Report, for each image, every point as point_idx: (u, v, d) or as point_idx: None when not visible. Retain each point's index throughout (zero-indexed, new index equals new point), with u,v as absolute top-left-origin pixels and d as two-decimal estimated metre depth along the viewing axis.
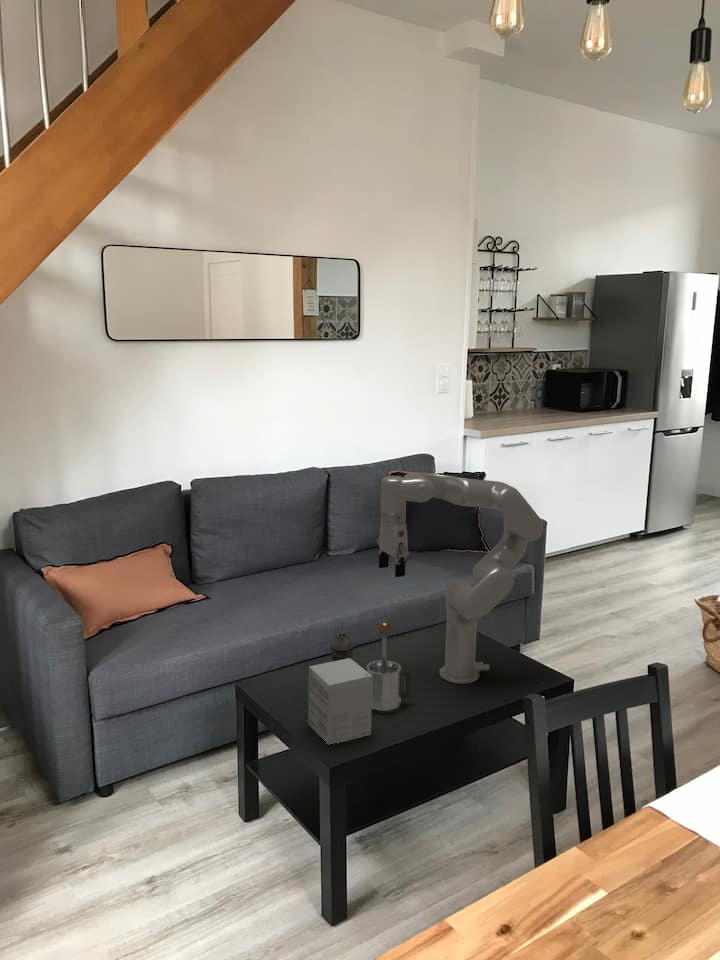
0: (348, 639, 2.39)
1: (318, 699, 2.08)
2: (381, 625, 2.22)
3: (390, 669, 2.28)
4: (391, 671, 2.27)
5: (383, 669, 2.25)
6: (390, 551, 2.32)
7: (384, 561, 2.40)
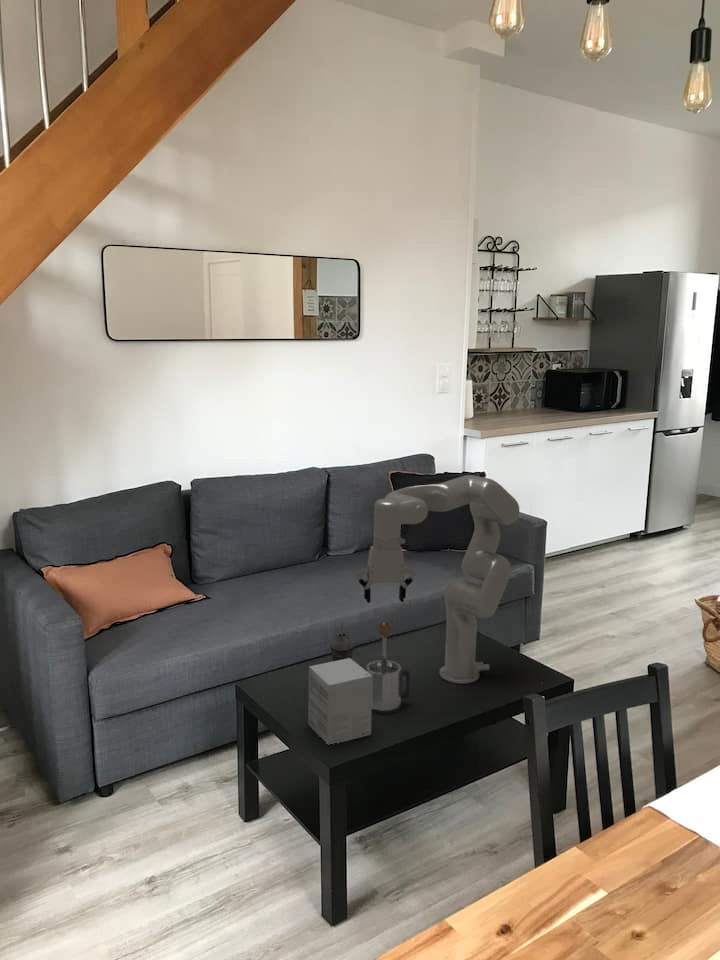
0: (348, 639, 2.39)
1: (318, 699, 2.08)
2: (381, 625, 2.22)
3: (390, 669, 2.28)
4: (391, 671, 2.27)
5: (383, 669, 2.25)
6: (395, 577, 2.18)
7: None
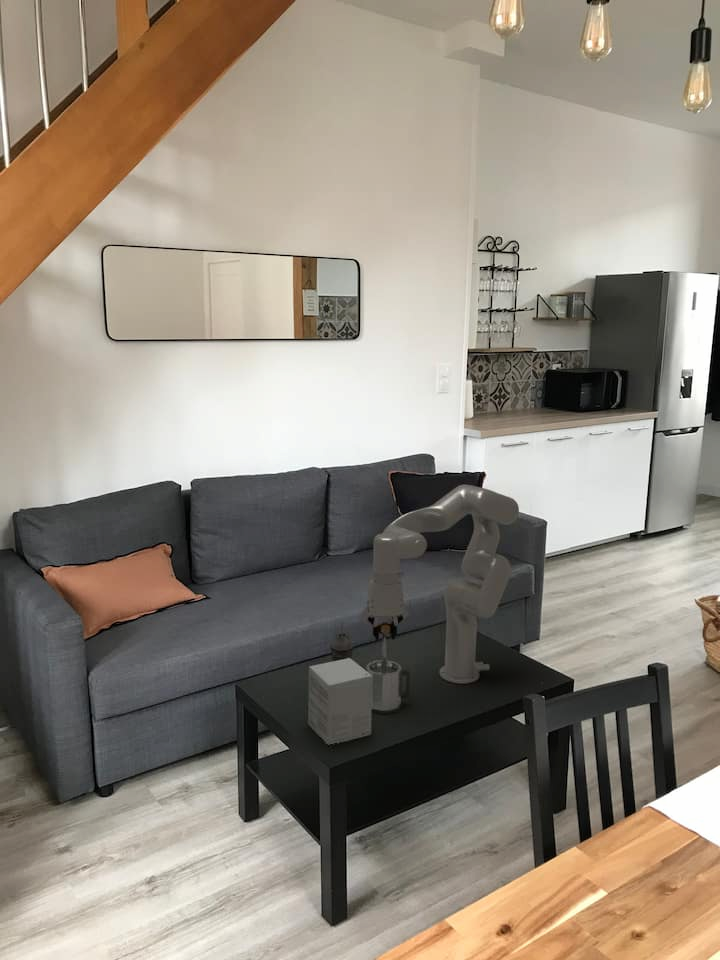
0: (348, 639, 2.39)
1: (318, 699, 2.08)
2: (381, 625, 2.22)
3: (390, 669, 2.28)
4: (391, 671, 2.27)
5: (383, 669, 2.25)
6: (395, 611, 2.21)
7: None
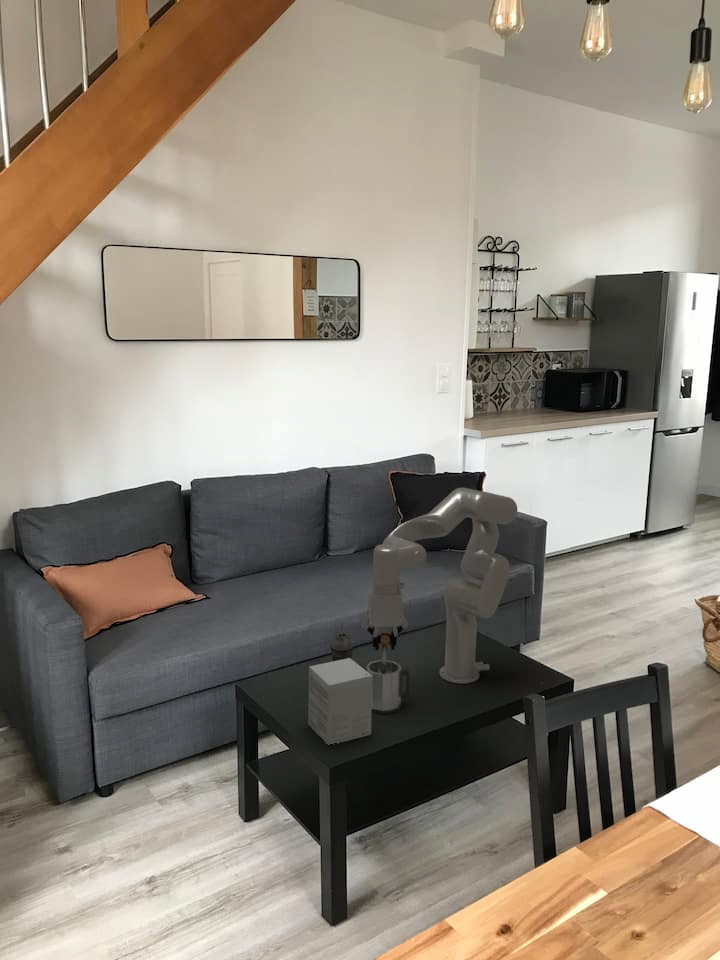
0: (348, 639, 2.39)
1: (318, 699, 2.08)
2: (381, 636, 2.23)
3: None
4: None
5: None
6: (395, 622, 2.21)
7: None
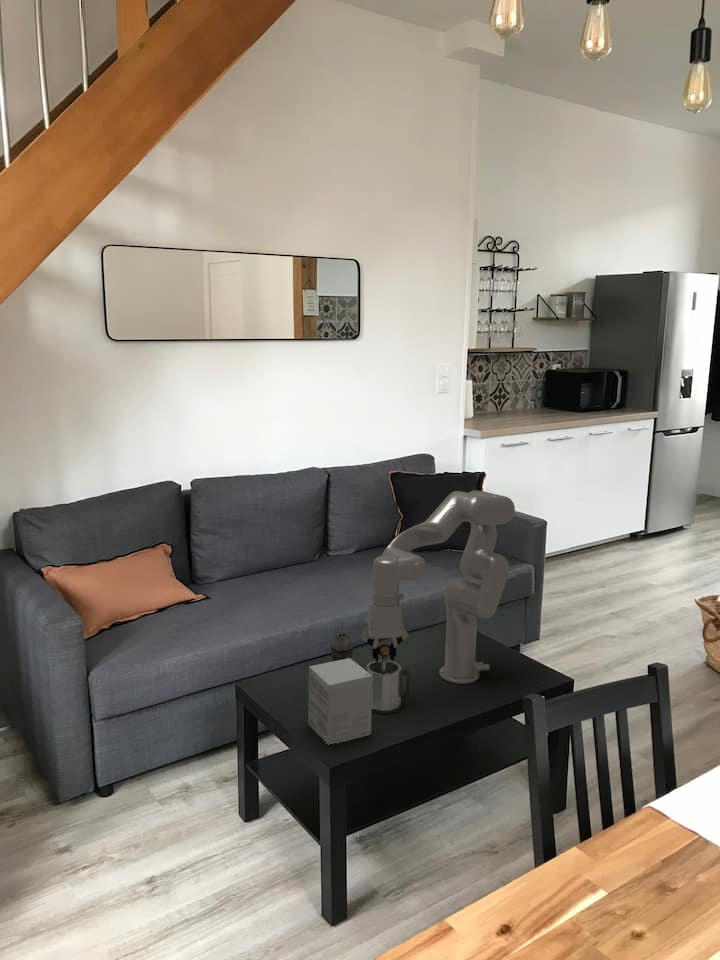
0: (348, 639, 2.39)
1: (318, 699, 2.08)
2: (380, 647, 2.23)
3: None
4: None
5: None
6: (394, 633, 2.22)
7: None
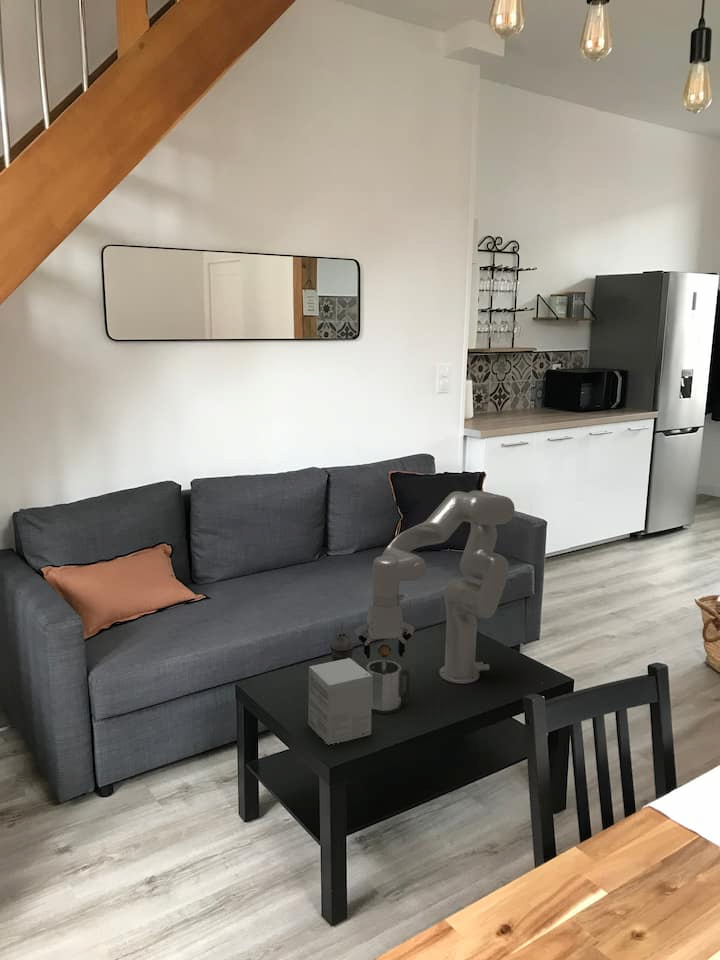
0: (348, 639, 2.39)
1: (318, 699, 2.08)
2: (380, 647, 2.23)
3: None
4: None
5: None
6: (394, 633, 2.22)
7: None
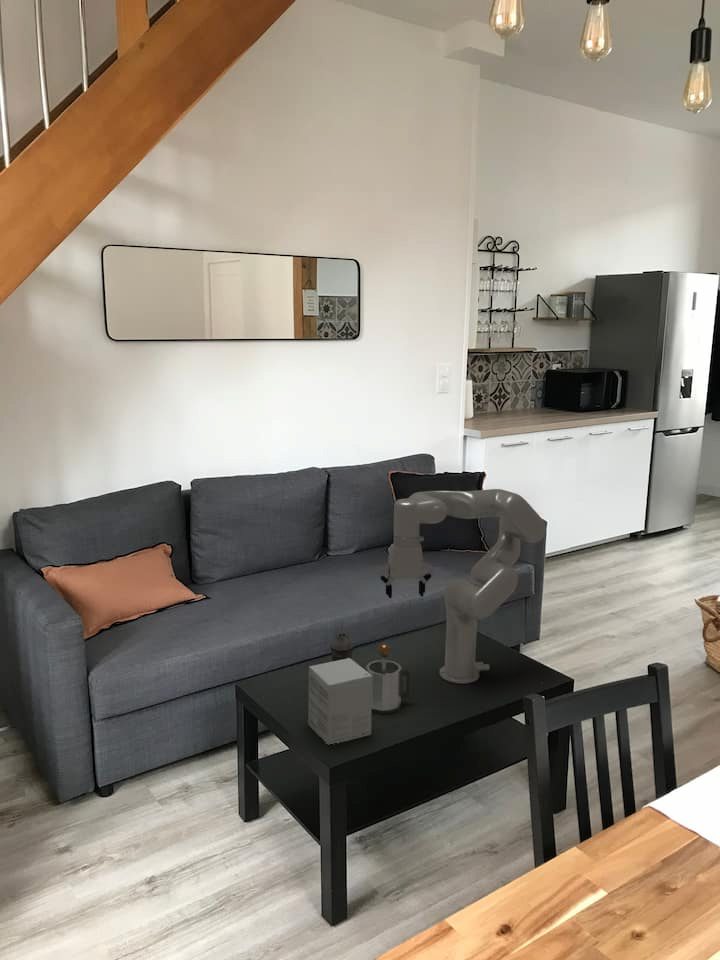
0: (348, 639, 2.39)
1: (318, 699, 2.08)
2: (380, 647, 2.23)
3: None
4: None
5: None
6: (415, 573, 2.30)
7: None
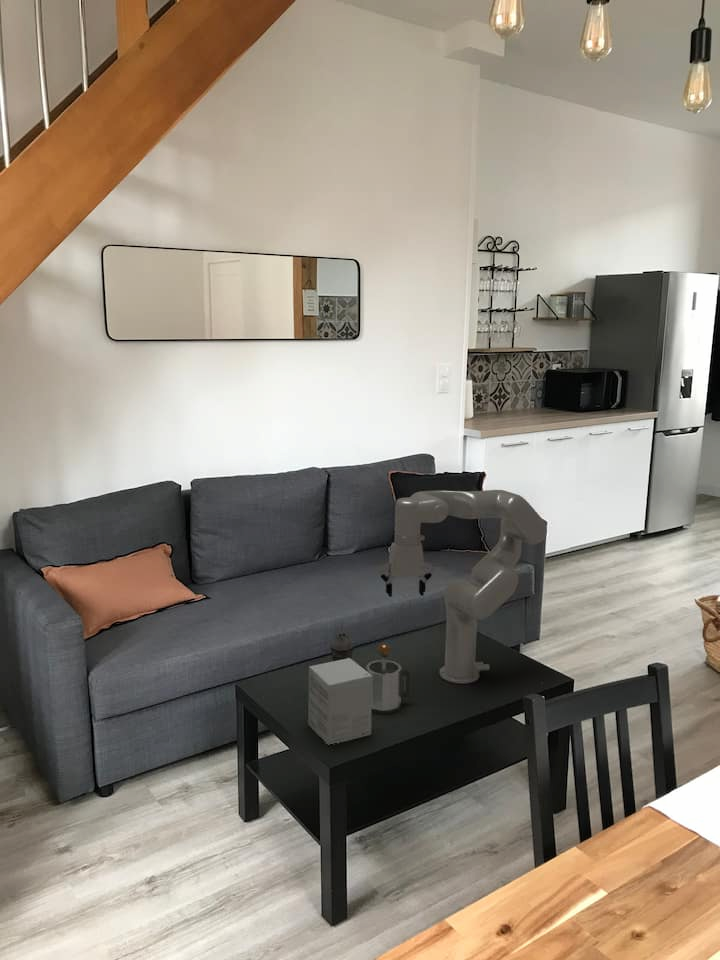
0: (348, 639, 2.39)
1: (318, 699, 2.08)
2: (380, 647, 2.23)
3: None
4: None
5: None
6: (416, 572, 2.30)
7: None
